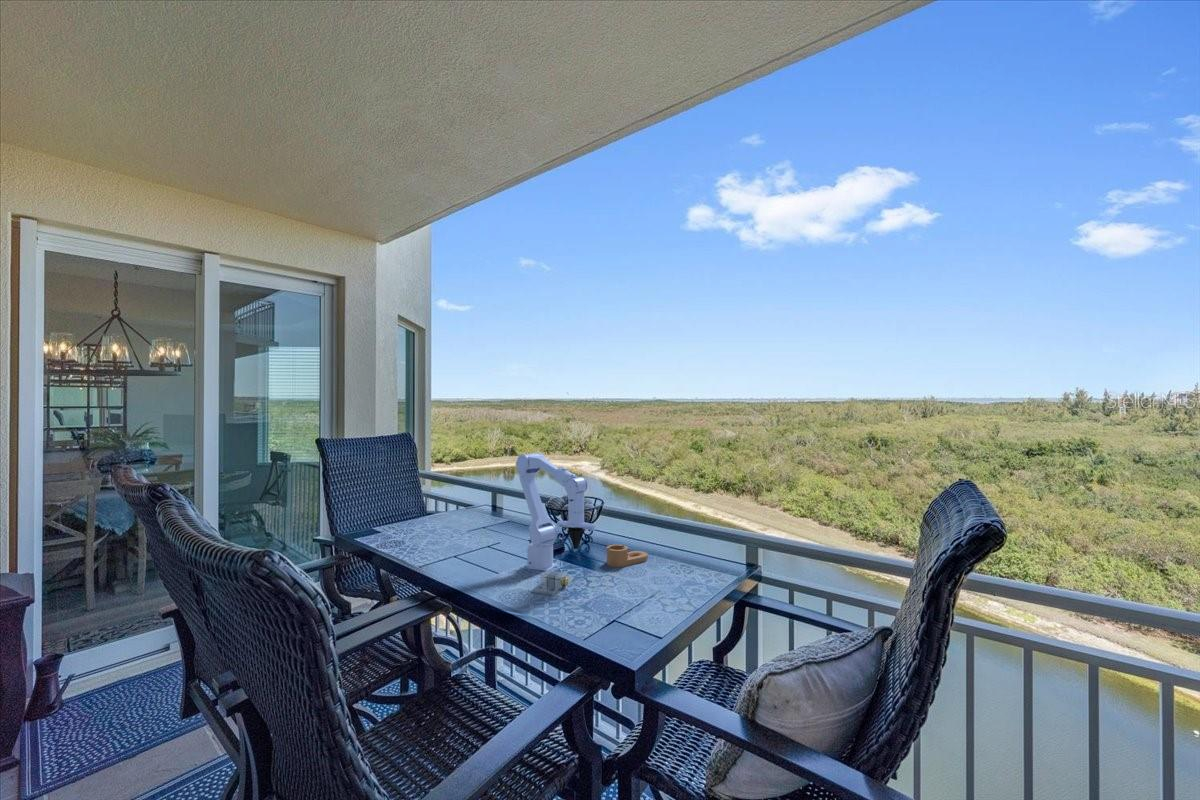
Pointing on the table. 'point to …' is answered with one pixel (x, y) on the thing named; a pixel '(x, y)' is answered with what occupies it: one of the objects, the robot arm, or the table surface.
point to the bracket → (624, 556)
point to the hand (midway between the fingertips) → (576, 548)
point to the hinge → (551, 582)
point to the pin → (565, 581)
